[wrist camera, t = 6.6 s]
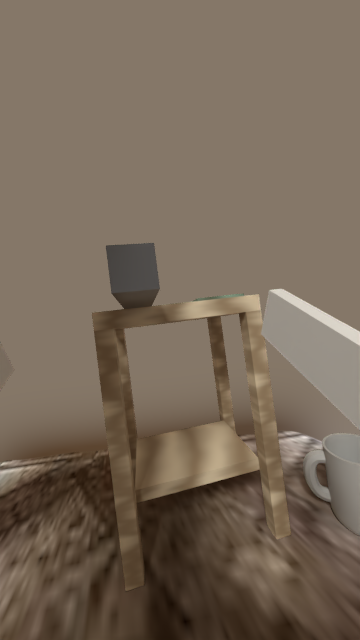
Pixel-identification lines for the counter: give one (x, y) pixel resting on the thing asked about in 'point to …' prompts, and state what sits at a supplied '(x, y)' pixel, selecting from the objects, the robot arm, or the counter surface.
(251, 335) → the stand
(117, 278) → the grey square bar
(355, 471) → the cup
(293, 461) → the counter surface
